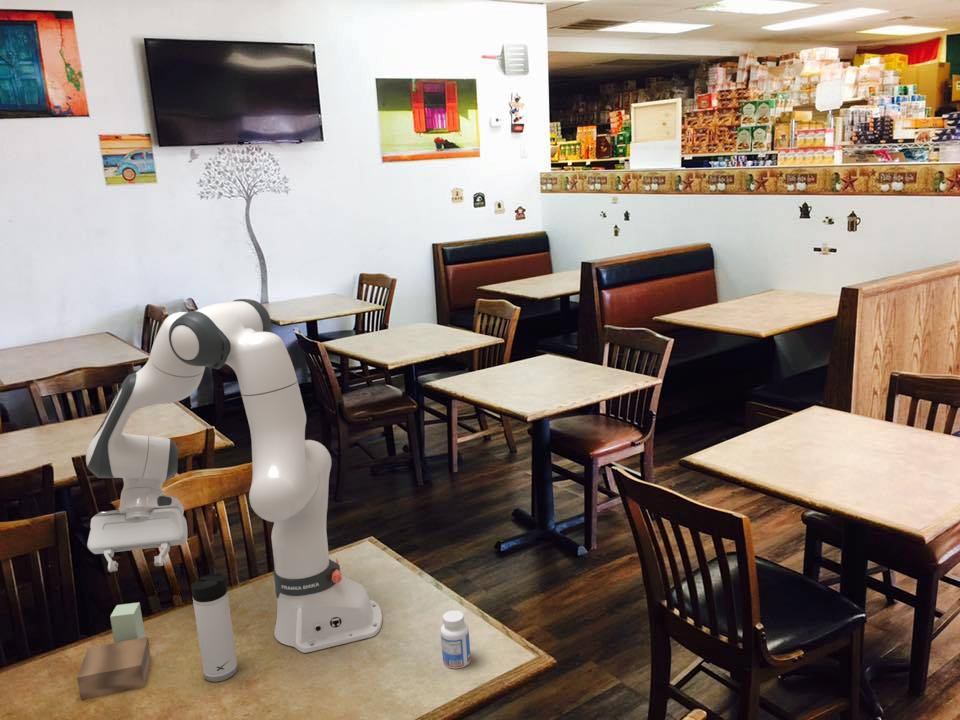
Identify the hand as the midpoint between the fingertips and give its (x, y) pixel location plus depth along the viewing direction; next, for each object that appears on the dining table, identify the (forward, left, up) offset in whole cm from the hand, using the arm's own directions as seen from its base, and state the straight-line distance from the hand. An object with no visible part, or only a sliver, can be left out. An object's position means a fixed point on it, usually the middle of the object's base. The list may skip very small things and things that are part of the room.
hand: (135, 567), depth 167 cm
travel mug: (-20, +23, -13) cm, 33 cm away
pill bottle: (-65, +30, -13) cm, 73 cm away
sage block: (0, +10, -13) cm, 17 cm away
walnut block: (0, +20, -13) cm, 24 cm away
